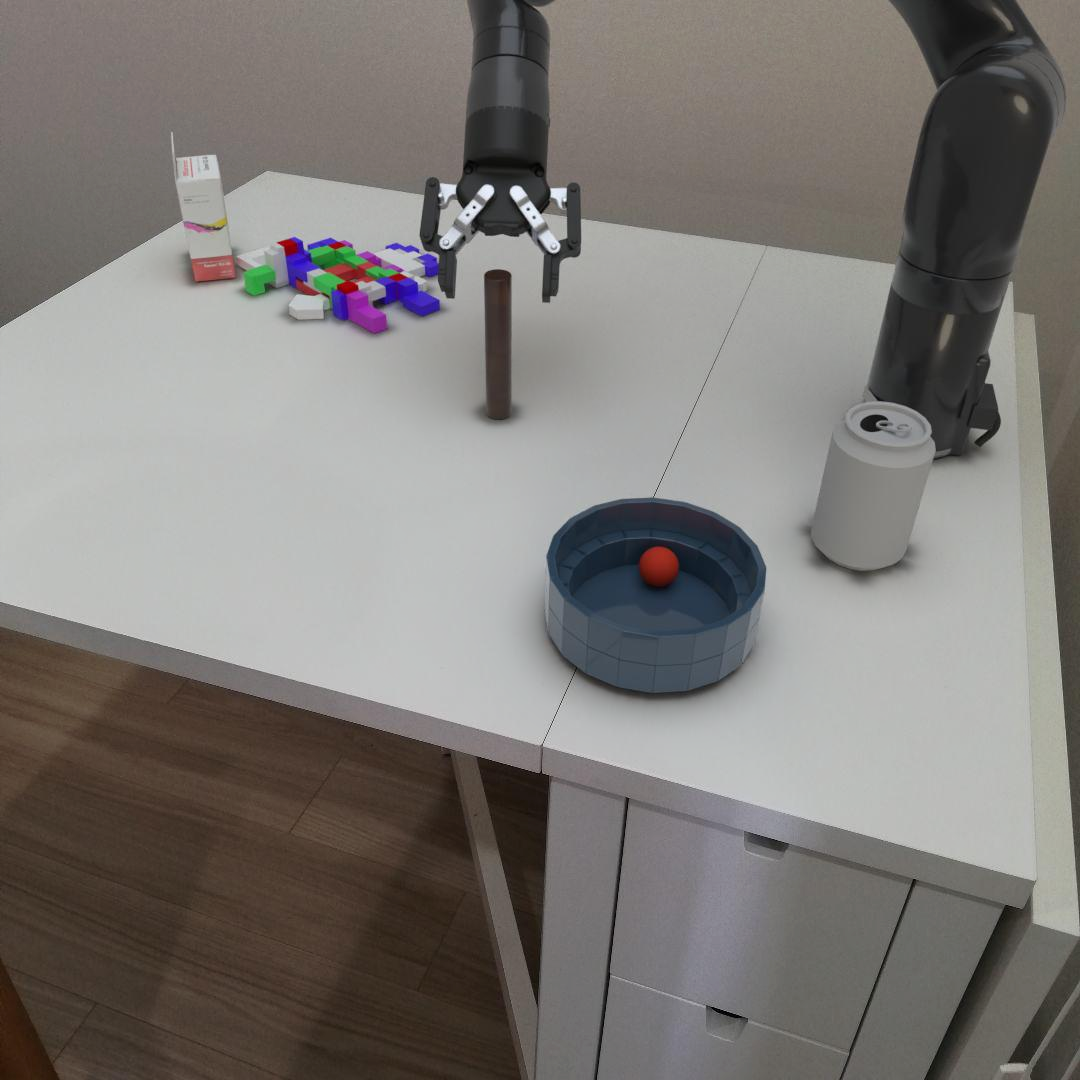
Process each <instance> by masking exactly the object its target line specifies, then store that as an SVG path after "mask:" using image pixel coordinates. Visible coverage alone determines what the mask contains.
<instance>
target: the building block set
mask: <svg viewBox="0 0 1080 1080" xmlns="http://www.w3.org/2000/svg"><path fill="white" fill-rule="evenodd" d="M306 246H307V250H306V249H305V247H304V241H303V240H301V239H300V238H298V237H296V236H292V237H289V238H285V239H283V240H280V241H277V242H273V243H270V244H269V246H268V245H267V246H265V247H262V248H258V249H256V250H252V251H249V252H246V253H243V254H238V255H236V258H235V259H236V264H237V266H238V267H240V268H241V269H243V270H245V271H244V272H243V281H244V286H245V287H244V288H245V292H247V293H249V294H250V295H252V296H254V297H255V296H258V295H261V294H263V293H266V288H265V284H269V285H271V286H272V287H274V288H275V289H279V288H281V287H286V286H288V285H290V286H292V287H294V288H295V289H297V290H299V291H301V292H302V293H304V294H299V293H297V294H296V295H295V296H294V297H293V298H292V300H291V301H290V302H289V304H288V306H287V307H288V313H289V315H290V316H291V317H293V318H295V319H296V320H298V321H299V320H324V319H325V311H326V310H330V309H331V310H332V314H333V317H335V318H337V319H339V320H341V321H345V320H350V321H352V322H353V323H355V324H356V325H358V326H360V327H362V328H364V329H365V330H367V331H369V332H370V333H372V334H377V333H380V332H382V331H385V330H387V329H388V323H387V322H388V319H387V314H386V313H385V312H383V311H381V310H379V309H378V308H376V307H374V303H373V302H374V301H378V302H380V303H381V304H384V305H387V304H390V303H393V302H396V301H398V302H400V303H401V304H402V307H404V308H405V309H407V310H408V311H411V312H413V313H414V314H416V315H418V316H420V317H423V316H426V315H429V314H431V313H434V312H437V311H439V310H441V302H440V301H441V300H440V299H438V298H437V297H435V296H433V295H431V294H429V293H428V292H426V291H427V290H428V285H427V284H428V281H427V280H426V279H424V278H423V276H426V277H429V278H431V277H434V276H436V275H437V276H438V268H439V262H438V258H437V257H436V256H434V255H432V254H430V253H425V254H421V253H420V248H418V247H416V246H413V245H412V244H409V245H407V246H405V245H402V244H400V243H398V242H394V243H391V244H388V245H385V249H383V250H381V251H377V252H374V253H372V252H370V251H369V250H367V251H363V252H360V253H357V252H356V249H354V244H353V243H351V242H350V241H347V240H345V239H343V240H340V241H338V240H336V239H334V238H333V237H328V238H325V239H321V240H319V241H315V242H312V243H309V244H306ZM356 253H357V254H356ZM353 279H356V280H353ZM351 280H352V281H351Z"/></svg>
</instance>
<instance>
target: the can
mask: <svg viewBox="0 0 1080 1080" xmlns="http://www.w3.org/2000/svg"><path fill="white" fill-rule="evenodd" d="M931 433H932V430H931V425H930V424H929V422H928V421H927V419H926V418H925V417H924V416H922V415H921V414H919V413H918V412H917V411H915V410H913V409H910V408H908V407H906V406H903V405H899V404H895V403H890V402H882V401H876V402H865V403H863V402H862V403H857V404H855V405H853V406H852V407H850V408H848V410H847V411H846V413H845V414H844V418H842V419H841V420H840V421H838V422H837V423H836V425H835V426H834V427H833V429H832V432H831V437H830V442H829V446H828V451H827V455H826V460H825V464H824V469H823V473H822V478H821V483H820V487H819V492H818V496H817V500H816V504H815V510H814V513H813V518H812V522H811V527H810V538H811V539H812V541H813V544H814V546H815V547H816V548H817V549H818V550H819V551H820V552H821V553H822V554H823V555H824V556H825V557H826V558H827V559H828V560H829V561H831V562H832V563H834V564H836V565H838V566H840V567H843V568H846V569H848V570H853V571H859V572H860V571H861V572H868V571H869V572H870V571H877V570H880V569H883V568H884V569H885V568H886V567H889V566H893V565H895V564H896V563H897V562H899V561H901V560H902V559H903V558H904V556H905V554H906V552H907V549H908V546H909V543H910V539H911V535H912V531H913V528H914V526H915V523H916V519H917V515H918V512H919V509H920V505H921V502H922V499H923V495H924V491H925V488H926V485H927V481H928V478H929V475H930V471H931V468H932V465H933V461H934V459H935V458H934V455H935V452H936V449H935V442H934V441H933V439H932V438H931V436H930V435H931Z"/></svg>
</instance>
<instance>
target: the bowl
mask: <svg viewBox="0 0 1080 1080" xmlns="http://www.w3.org/2000/svg"><path fill="white" fill-rule="evenodd" d="M653 547H665V548H667V549H669V550H671V551H672V552H673V553H674V554H675V555H676V557H677V559H678V562H679V571H678V574H677V576H676V578H675V579H674V580H673V581H672V582H671V583H670V584H668V585H666V586H662V587H656V586H652V585H650V584H648V583H647V582H645V581H644V579H643V578H642V577H641V575H640V572H639V561H640V559H641V557H642V555H643V554H644V553H645V552H646V551H647V550H649V549H651V548H653ZM766 581H767V565H766V563H765V560H764V558H763V556H762V552H761V550H760V548H759V546H758V545H757V544H756V543H755V541H753V539H752V538H751V537H750V536H749V535H748V534H747V533H746V532H745V531H744V530H743V529H742V528H741V527H740V526H738V525H737V524H735V523H734V522H732V521H730V520H729V519H727V518H726V517H724V516H722V515H720V514H719V513H717V512H715V511H712V510H711V509H710V510H709V509H707V508H704V507H701V506H698V505H695V504H692V503H689V502H687V501H682V500H681V501H680V500H673V499H667V498H660V497H652V496H651V497H636V498H635V497H631V498H629V497H628V498H627V497H626V498H619V499H615V500H611V501H607V502H603V503H598V504H595V505H593V506H590V507H589V508H587V509H585V510H583V511H581V512H579V513H577V514H575V515H573V516H571V517H570V518H568V520H567V521H565V523H564V524H563V525H562V526H561V527H560V528H559V529H558V530H557V531H556V532H555V533H554V534H553V536H552V538H551V541H550V543H549V547H548V550H547V552H546V555H545V583H544V584H545V586H544V587H545V588H544V616H545V621H546V623H545V624H546V628H547V629H546V630H547V634H548V635H549V636H550V638H551V640H552V642H553V643H554V645H555V646H556V648H557V650H558V651H559V652H560V654H561V656H563V657H564V658H565V659H566V660H568V661H569V663H572V665H574V666H575V667H576V668H578V669H580V670H581V672H583V673H584V674H586V675H588V676H590V677H593V678H596V679H597V680H600V681H602V682H604V683H606V684H609V685H611V686H614V687H617V688H621V689H627V690H633V691H639V692H645V693H650V694H651V693H654V694H655V693H656V694H659V693H673V692H674V693H675V692H687V691H691V690H694V689H698V688H701V687H704V686H707V685H709V684H714V683H716V682H719V681H721V680H722V679H723V678H725V677H726V676H728V675H729V674H731V673H732V672H733V671H734V670H736V669H738V668H739V667H741V666H742V664H743V662H744V661H745V659H746V657H747V656H748V655H749V653H750V652H751V649H753V646H754V645H755V640H756V637H757V631H758V625H759V621H760V615H761V612H762V611H761V610H762V605H763V601H764V595H765V591H766Z"/></svg>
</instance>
